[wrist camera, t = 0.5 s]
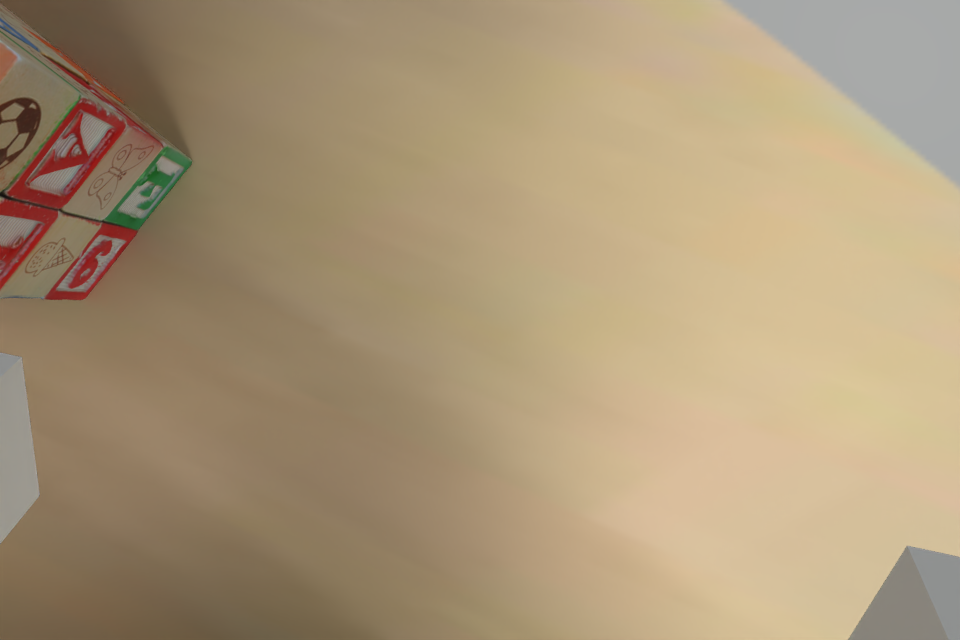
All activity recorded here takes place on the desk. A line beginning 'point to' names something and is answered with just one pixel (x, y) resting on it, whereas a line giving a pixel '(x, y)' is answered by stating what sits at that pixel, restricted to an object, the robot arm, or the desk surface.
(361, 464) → the desk surface
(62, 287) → the stack of blocks
